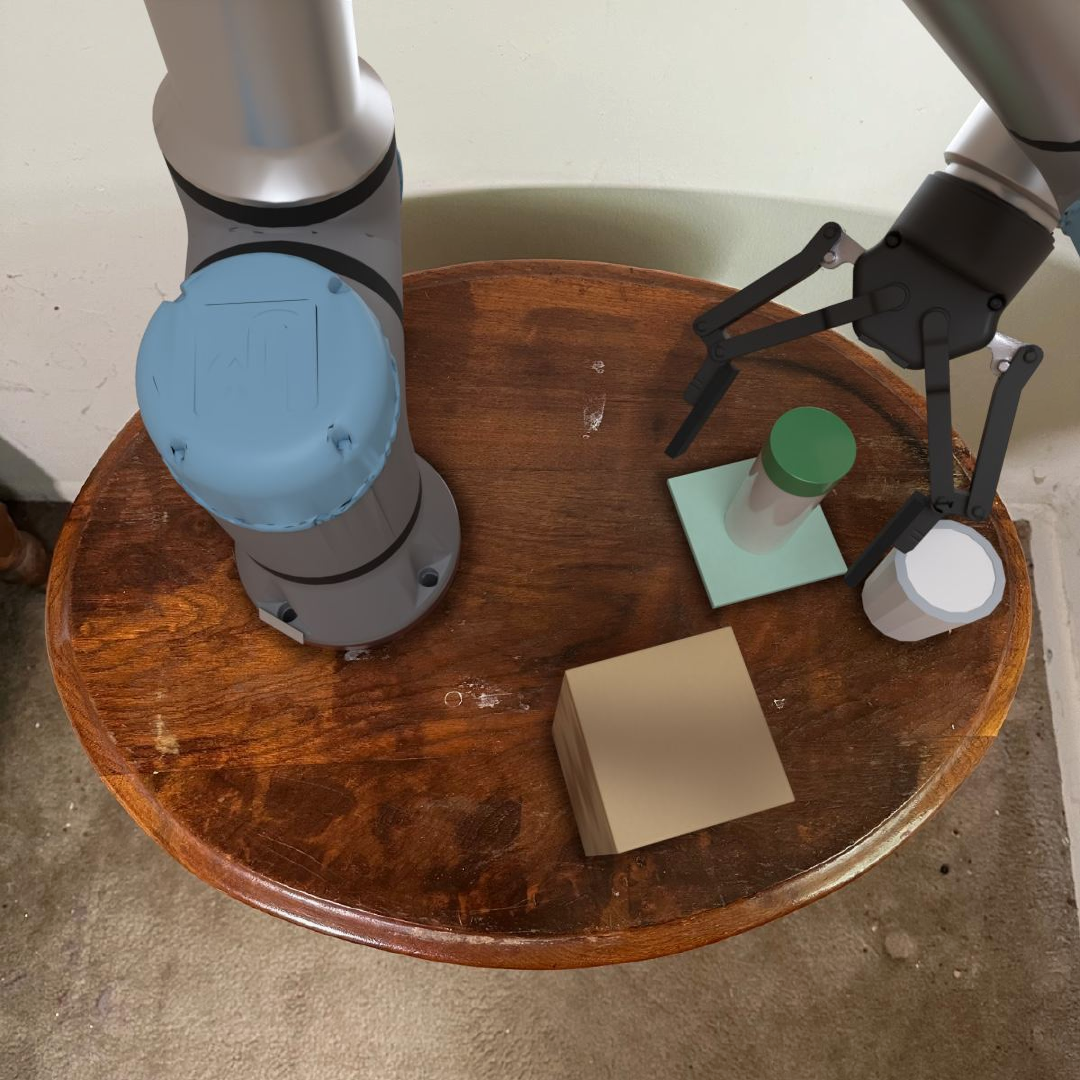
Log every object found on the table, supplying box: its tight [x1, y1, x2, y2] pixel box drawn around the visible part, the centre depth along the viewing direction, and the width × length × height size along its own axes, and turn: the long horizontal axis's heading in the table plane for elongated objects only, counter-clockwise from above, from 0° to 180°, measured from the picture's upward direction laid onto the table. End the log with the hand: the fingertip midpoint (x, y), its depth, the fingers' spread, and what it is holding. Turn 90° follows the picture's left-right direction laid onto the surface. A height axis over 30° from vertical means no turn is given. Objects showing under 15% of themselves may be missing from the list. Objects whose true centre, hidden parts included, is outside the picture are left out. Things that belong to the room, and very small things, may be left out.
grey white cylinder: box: [861, 519, 1007, 642], centre depth 54 cm, size 7×7×7 cm
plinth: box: [550, 626, 796, 857], centre depth 44 cm, size 8×8×18 cm
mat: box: [666, 457, 848, 610], centre depth 59 cm, size 10×10×1 cm
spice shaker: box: [725, 406, 857, 555], centre depth 53 cm, size 5×5×12 cm
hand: (759, 514), depth 53 cm, fingers open, 13 cm apart
